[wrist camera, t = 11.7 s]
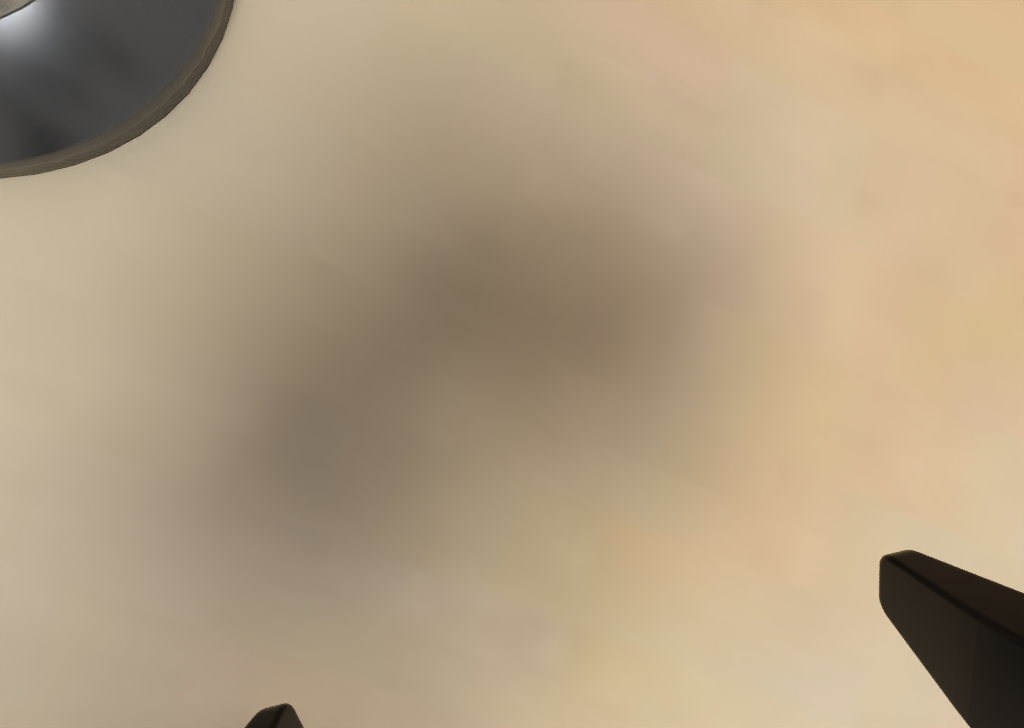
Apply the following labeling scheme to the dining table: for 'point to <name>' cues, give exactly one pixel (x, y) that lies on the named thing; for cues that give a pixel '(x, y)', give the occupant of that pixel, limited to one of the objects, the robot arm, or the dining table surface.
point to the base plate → (95, 73)
